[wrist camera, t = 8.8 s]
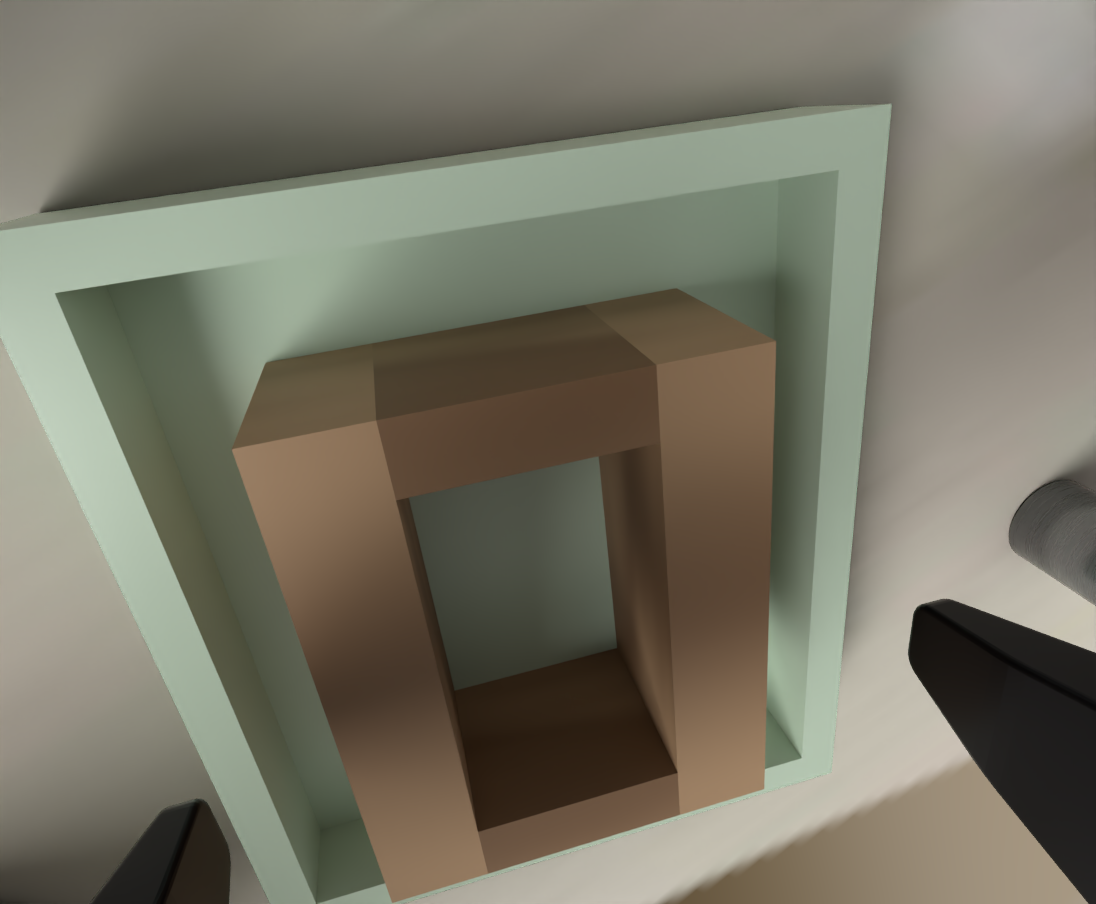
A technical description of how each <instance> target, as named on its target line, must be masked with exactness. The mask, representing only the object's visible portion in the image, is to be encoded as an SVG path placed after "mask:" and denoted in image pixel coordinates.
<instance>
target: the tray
mask: <svg viewBox="0 0 1096 904" xmlns="http://www.w3.org/2000/svg"><path fill="white" fill-rule="evenodd" d="M891 108H892V104H868V105H836V106H803V107H795V108H788V109H781V110H774V111H767V112H759V113H752V114H745V115H738V116H731V117H724V118H717V119H709V120H702V121H695V122H688V123H681V124H674V125H667V126H659V127H652V128H645V129H638V130H631V131H624V132H617V133H609V134H602V135H595V136H588V137H581V138H574V139H567V140H559V141H552V142H545V143H538V144H531V145H524V146H517V147H509V148H502V149H495V150H488V151H481V152H474V153H467V154H459V155H452V156H445V157H438V158H431V159H424V160H417V161H409V162H402V163H395V164H388V165H381V166H374V167H367V168H359V169H352V170H345V171H338V172H331V173H324V174H317V175H309V176H302V177H295V178H288V179H281V180H274V181H267V182H259V183H252V184H245V185H238V186H231V187H224V188H217V189H209V190H202V191H195V192H188V193H181V194H174V195H167V196H159V197H152V198H145V199H138V200H131V201H124V202H117V203H109V204H102V205H95V206H88V207H81V208H74V209H67V210H59V211H52V212H45V213H38V214H33V215H29V216H26V217H23V218H19V219H16V220H12V221H9V222H5V223H2V224H0V338H1V340H2V342H3V344H4V346H5V348H6V350H7V352H8V354H9V356H10V359H11V361H12V363H13V365H14V367H15V369H16V371H17V373H18V375H19V377H20V380H21V382H22V384H23V386H24V388H25V390H26V392H27V394H28V396H29V399H30V401H31V403H32V405H33V407H34V409H35V411H36V413H37V415H38V417H39V420H40V422H41V424H42V426H43V428H44V430H45V432H46V434H47V436H48V438H49V441H50V443H51V445H52V447H53V449H54V451H55V453H56V455H57V457H58V459H59V462H60V464H61V466H62V468H63V470H64V472H65V474H66V476H67V478H68V480H69V483H70V485H71V487H72V489H73V491H74V493H75V495H76V497H77V499H78V501H79V504H80V506H81V508H82V510H83V512H84V514H85V516H86V518H87V520H88V522H89V525H90V527H91V529H92V531H93V533H94V535H95V537H96V539H97V541H98V543H99V546H100V548H101V550H102V552H103V554H104V556H105V558H106V560H107V562H108V564H109V567H110V569H111V571H112V573H113V575H114V577H115V579H116V581H117V583H118V586H119V588H120V590H121V592H122V594H123V596H124V598H125V600H126V602H127V604H128V607H129V609H130V611H131V613H132V615H133V617H134V619H135V621H136V623H137V625H138V628H139V630H140V632H141V634H142V636H143V638H144V640H145V642H146V644H147V646H148V649H149V651H150V653H151V655H152V657H153V659H154V661H155V663H156V665H157V667H158V670H159V672H160V674H161V676H162V678H163V680H164V682H165V684H166V686H167V688H168V691H169V693H170V695H171V697H172V699H173V701H174V703H175V705H176V707H177V709H178V712H179V714H180V716H181V718H182V720H183V722H184V724H185V726H186V728H187V730H188V733H189V735H190V737H191V739H192V741H193V743H194V745H195V747H196V749H197V751H198V754H199V756H200V758H201V760H202V762H203V764H204V766H205V768H206V770H207V773H208V775H209V777H210V779H211V781H212V783H213V785H214V787H215V789H216V791H217V794H218V796H219V798H220V800H221V802H222V804H223V806H224V808H225V810H226V812H227V815H228V817H229V819H230V821H231V823H232V825H233V827H234V829H235V831H236V833H237V836H238V838H239V840H240V842H241V844H242V846H243V848H244V850H245V852H246V854H247V857H248V859H249V861H250V863H251V865H252V867H253V869H254V871H255V873H256V875H257V878H258V880H259V882H260V884H261V886H262V888H263V890H264V892H265V894H266V896H267V899H268V901H269V903H270V904H404V903H407V902H410V901H414V900H417V899H420V898H424V897H427V896H430V895H433V894H437V893H440V892H443V891H446V890H450V889H453V888H456V887H459V886H463V885H466V884H469V883H473V882H476V881H479V880H482V879H486V878H489V877H492V876H495V875H499V874H502V873H505V872H508V871H512V870H515V869H518V868H522V867H525V866H528V865H531V864H535V863H538V862H541V861H544V860H548V859H551V858H554V857H558V856H561V855H564V854H567V853H571V852H574V851H577V850H580V849H584V848H587V847H590V846H593V845H597V844H600V843H603V842H607V841H610V840H613V839H616V838H620V837H623V836H626V835H629V834H633V833H636V832H639V831H642V830H646V829H649V828H652V827H656V826H659V825H662V824H665V823H669V822H672V821H675V820H678V819H682V818H685V817H688V816H692V815H695V814H698V813H701V812H705V811H708V810H711V809H714V808H718V807H721V806H724V805H727V804H731V803H734V802H737V801H741V800H744V799H747V798H750V797H754V796H757V795H760V794H763V793H767V792H770V791H773V790H777V789H780V788H783V787H786V786H790V785H793V784H796V783H799V782H803V781H806V780H809V779H812V778H816V777H819V776H822V775H826V774H829V773H831V772H832V761H833V750H834V739H835V728H836V717H837V706H838V695H839V684H840V673H841V662H842V650H843V639H844V628H845V617H846V606H847V595H848V584H849V573H850V562H851V551H852V540H853V529H854V518H855V507H856V495H857V484H858V473H859V462H860V451H861V440H862V429H863V418H864V407H865V396H866V385H867V374H868V363H869V352H870V340H871V329H872V318H873V307H874V296H875V285H876V274H877V263H878V252H879V241H880V230H881V219H882V208H883V197H884V185H885V174H886V163H887V152H888V141H889V130H890V119H891ZM675 288H677V289H679V290H681V291H683V292H685V293H687V294H689V295H691V296H692V297H694V298H696V299H698V300H700V301H702V302H704V303H706V304H707V305H709V306H711V307H713V308H715V309H717V310H719V311H721V312H723V313H724V314H726V315H728V316H730V317H732V318H734V319H736V320H738V321H739V322H741V323H743V324H745V325H747V326H749V327H751V328H753V329H755V330H756V331H758V332H760V333H762V334H764V335H766V336H768V337H770V338H771V339H773V340H775V341H776V369H775V407H774V444H773V481H772V519H771V556H770V593H769V631H768V668H767V705H766V743H765V780H764V789H763V790H760V791H756V792H753V793H750V794H747V795H743V796H740V797H737V798H734V799H730V800H727V801H724V802H720V803H717V804H714V805H711V806H707V807H704V808H701V809H698V810H694V811H691V812H688V813H685V814H681V815H678V816H675V817H672V818H668V819H665V820H662V821H658V822H655V823H652V824H649V825H645V826H642V827H639V828H636V829H632V830H629V831H626V832H623V833H619V834H616V835H613V836H610V837H606V838H603V839H600V840H597V841H593V842H590V843H587V844H583V845H580V846H577V847H574V848H570V849H567V850H564V851H561V852H557V853H554V854H551V855H548V856H544V857H541V858H538V859H535V860H531V861H528V862H525V863H521V864H518V865H515V866H512V867H508V868H505V869H502V870H499V871H495V872H492V873H489V874H486V875H482V876H479V877H476V878H473V879H469V880H466V881H463V882H460V883H456V884H453V885H450V886H446V887H443V888H440V889H437V890H433V891H430V892H427V893H424V894H420V895H417V896H414V897H411V898H407V899H404V900H401V901H398V902H394V903H392V901H391V898H390V896H389V893H388V890H387V887H386V884H385V881H384V879H383V876H382V873H381V870H380V867H379V865H378V862H377V859H376V856H375V853H374V850H373V848H372V845H371V842H370V839H369V836H368V833H367V831H366V828H365V825H364V822H363V819H362V816H361V814H360V811H359V808H358V805H357V802H356V800H355V797H354V794H353V791H352V788H351V785H350V783H349V780H348V777H347V774H346V771H345V768H344V766H343V763H342V760H341V757H340V754H339V751H338V749H337V746H336V743H335V740H334V737H333V735H332V732H331V729H330V726H329V723H328V720H327V718H326V715H325V712H324V709H323V706H322V703H321V701H320V698H319V695H318V692H317V689H316V686H315V684H314V681H313V678H312V675H311V672H310V670H309V667H308V664H307V661H306V658H305V655H304V653H303V650H302V647H301V644H300V641H299V638H298V636H297V633H296V630H295V627H294V624H293V621H292V619H291V616H290V613H289V610H288V607H287V605H286V602H285V599H284V596H283V593H282V590H281V588H280V585H279V582H278V579H277V576H276V573H275V571H274V568H273V565H272V562H271V559H270V556H269V554H268V551H267V548H266V545H265V542H264V540H263V537H262V534H261V531H260V528H259V525H258V523H257V520H256V517H255V514H254V511H253V508H252V506H251V503H250V500H249V497H248V494H247V492H246V489H245V486H244V483H243V480H242V477H241V475H240V472H239V469H238V466H237V463H236V460H235V458H234V455H233V452H232V447H233V444H234V442H235V439H236V437H237V434H238V432H239V429H240V427H241V424H242V421H243V419H244V416H245V414H246V411H247V409H248V406H249V404H250V401H251V398H252V396H253V393H254V391H255V388H256V386H257V383H258V381H259V378H260V375H261V373H262V370H263V368H264V365H265V363H267V362H272V361H278V360H283V359H289V358H294V357H300V356H305V355H311V354H316V353H322V352H327V351H333V350H338V349H344V348H349V347H355V346H360V345H366V344H372V343H377V342H383V341H388V340H394V339H399V338H405V337H410V336H416V335H421V334H427V333H432V332H438V331H443V330H449V329H454V328H460V327H465V326H471V325H476V324H482V323H487V322H493V321H498V320H504V319H509V318H515V317H520V316H526V315H531V314H537V313H542V312H548V311H553V310H559V309H564V308H570V307H575V306H581V305H586V304H592V303H597V302H603V301H608V300H614V299H619V298H625V297H630V296H636V295H642V294H647V293H653V292H658V291H664V290H669V289H675ZM409 501H410V505H411V509H412V513H413V518H414V522H415V526H416V530H417V534H418V539H419V543H420V547H421V551H422V555H423V560H424V564H425V568H426V572H427V577H428V581H429V585H430V589H431V593H432V598H433V602H434V606H435V610H436V614H437V619H438V623H439V627H440V631H441V636H442V640H443V644H444V648H445V652H446V657H447V661H448V665H449V669H450V673H451V678H452V682H453V686H454V690H459V689H463V688H467V687H471V686H474V685H478V684H482V683H486V682H490V681H493V680H497V679H501V678H505V677H509V676H512V675H516V674H520V673H524V672H528V671H531V670H535V669H539V668H543V667H547V666H550V665H554V664H558V663H562V662H566V661H569V660H573V659H577V658H581V657H585V656H588V655H592V654H596V653H600V652H604V651H607V650H611V649H615V648H617V642H616V631H615V621H614V611H613V600H612V590H611V579H610V569H609V559H608V548H607V538H606V528H605V517H604V507H603V497H602V486H601V476H600V465H599V456H598V457H593V458H589V459H584V460H579V461H575V462H570V463H566V464H561V465H556V466H552V467H547V468H543V469H538V470H533V471H529V472H524V473H520V474H515V475H510V476H506V477H501V478H497V479H492V480H487V481H483V482H478V483H474V484H469V485H464V486H460V487H455V488H451V489H446V490H441V491H437V492H432V493H428V494H423V495H418V496H414V497H409Z"/></svg>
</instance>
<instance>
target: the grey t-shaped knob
mask: <svg viewBox="0 0 1096 904" xmlns="http://www.w3.org/2000/svg"><path fill="white" fill-rule="evenodd" d="M1009 542H1010V545H1011V548H1012V549H1013V551H1014V552H1015V553H1017V554H1018V555H1019V556H1021V557H1022V558H1024V559H1025V560H1027V561H1029V562H1030V563H1032V564H1033V565H1035V566H1036V567H1038V568H1039V569H1041V570H1042V571H1044V572H1045V573H1047V574H1048V575H1050V576H1051V577H1053V578H1054V579H1056V580H1057V581H1059V582H1060V583H1062V584H1063V585H1065V586H1066V587H1068V588H1069V589H1071V590H1072V591H1074V592H1075V593H1077V594H1078V595H1080V596H1081V597H1083V598H1084V599H1086V600H1088V601H1089V602H1091V603H1092V604H1094V605H1095V606H1096V492H1094V491H1092V490H1090V489H1088V488H1086V487H1084V486H1083V485H1081V484H1079V483H1077V482H1074V481H1071V480H1061V481H1056V482H1053V483H1050V484H1048V485H1046V486H1044V487H1042V488H1040V489H1039V490H1037V491H1036V492H1035V493H1034V494H1032V495H1031V496H1030V497H1029V498H1028V499H1027V500H1026V501H1025V502H1024V503H1023V504H1022V506H1021V507H1020V508H1019V510H1018V511H1017V513H1016V515H1015V517H1014V519H1013V521H1012V523H1011V527H1010V531H1009Z"/></svg>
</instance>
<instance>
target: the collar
mask: <svg viewBox="0 0 1096 904" xmlns="http://www.w3.org/2000/svg"><path fill="white" fill-rule="evenodd" d="M775 369H776V341H775V340H773V339H771V338H770V337H768V336H766V335H764V334H762V333H760V332H758V331H756V330H755V329H753V328H751V327H749V326H747V325H745V324H743V323H741V322H739V321H738V320H736V319H734V318H732V317H730V316H728V315H726V314H724V313H723V312H721V311H719V310H717V309H715V308H713V307H711V306H709V305H707V304H706V303H704V302H702V301H700V300H698V299H696V298H694V297H692V296H691V295H689V294H687V293H685V292H683V291H681V290H679V289H677V288H675V289H669V290H664V291H658V292H653V293H647V294H642V295H636V296H630V297H625V298H619V299H614V300H608V301H603V302H597V303H592V304H586V305H581V306H575V307H570V308H564V309H559V310H553V311H548V312H542V313H537V314H531V315H526V316H520V317H515V318H509V319H504V320H498V321H493V322H487V323H482V324H476V325H471V326H465V327H460V328H454V329H449V330H443V331H438V332H432V333H427V334H421V335H416V336H410V337H405V338H399V339H394V340H388V341H383V342H377V343H372V344H366V345H360V346H355V347H349V348H344V349H338V350H333V351H327V352H322V353H316V354H311V355H305V356H300V357H294V358H289V359H283V360H278V361H272V362H267V363H265V365H264V368H263V370H262V373H261V375H260V378H259V381H258V383H257V386H256V388H255V391H254V393H253V396H252V398H251V401H250V404H249V406H248V409H247V411H246V414H245V416H244V419H243V421H242V424H241V427H240V429H239V432H238V434H237V437H236V439H235V442H234V444H233V447H232V452H233V455H234V458H235V460H236V463H237V466H238V469H239V472H240V475H241V477H242V480H243V483H244V486H245V489H246V492H247V494H248V497H249V500H250V503H251V506H252V508H253V511H254V514H255V517H256V520H257V523H258V525H259V528H260V531H261V534H262V537H263V540H264V542H265V545H266V548H267V551H268V554H269V556H270V559H271V562H272V565H273V568H274V571H275V573H276V576H277V579H278V582H279V585H280V588H281V590H282V593H283V596H284V599H285V602H286V605H287V607H288V610H289V613H290V616H291V619H292V621H293V624H294V627H295V630H296V633H297V636H298V638H299V641H300V644H301V647H302V650H303V653H304V655H305V658H306V661H307V664H308V667H309V670H310V672H311V675H312V678H313V681H314V684H315V686H316V689H317V692H318V695H319V698H320V701H321V703H322V706H323V709H324V712H325V715H326V718H327V720H328V723H329V726H330V729H331V732H332V735H333V737H334V740H335V743H336V746H337V749H338V751H339V754H340V757H341V760H342V763H343V766H344V768H345V771H346V774H347V777H348V780H349V783H350V785H351V788H352V791H353V794H354V797H355V800H356V802H357V805H358V808H359V811H360V814H361V816H362V819H363V822H364V825H365V828H366V831H367V833H368V836H369V839H370V842H371V845H372V848H373V850H374V853H375V856H376V859H377V862H378V865H379V867H380V870H381V873H382V876H383V879H384V881H385V884H386V887H387V890H388V893H389V896H390V898H391V901H392V903H394V902H398V901H401V900H404V899H407V898H411V897H414V896H417V895H420V894H424V893H427V892H430V891H433V890H437V889H440V888H443V887H446V886H450V885H453V884H456V883H460V882H463V881H466V880H469V879H473V878H476V877H479V876H482V875H486V874H489V873H492V872H495V871H499V870H502V869H505V868H508V867H512V866H515V865H518V864H521V863H525V862H528V861H531V860H535V859H538V858H541V857H544V856H548V855H551V854H554V853H557V852H561V851H564V850H567V849H570V848H574V847H577V846H580V845H583V844H587V843H590V842H593V841H597V840H600V839H603V838H606V837H610V836H613V835H616V834H619V833H623V832H626V831H629V830H632V829H636V828H639V827H642V826H645V825H649V824H652V823H655V822H658V821H662V820H665V819H668V818H672V817H675V816H678V815H681V814H685V813H688V812H691V811H694V810H698V809H701V808H704V807H707V806H711V805H714V804H717V803H720V802H724V801H727V800H730V799H734V798H737V797H740V796H743V795H747V794H750V793H753V792H756V791H760V790H763V789H764V780H765V743H766V705H767V668H768V631H769V593H770V556H771V519H772V481H773V444H774V407H775ZM598 456H599V465H600V476H601V486H602V497H603V507H604V517H605V528H606V538H607V548H608V559H609V569H610V579H611V590H612V600H613V611H614V621H615V631H616V642H617V648H615V649H611V650H607V651H604V652H600V653H596V654H592V655H588V656H585V657H581V658H577V659H573V660H569V661H566V662H562V663H558V664H554V665H550V666H547V667H543V668H539V669H535V670H531V671H528V672H524V673H520V674H516V675H512V676H509V677H505V678H501V679H497V680H493V681H490V682H486V683H482V684H478V685H474V686H471V687H467V688H463V689H459V690H454V686H453V682H452V678H451V673H450V669H449V665H448V661H447V657H446V652H445V648H444V644H443V640H442V636H441V631H440V627H439V623H438V619H437V614H436V610H435V606H434V602H433V598H432V593H431V589H430V585H429V581H428V577H427V572H426V568H425V564H424V560H423V555H422V551H421V547H420V543H419V539H418V534H417V530H416V526H415V522H414V518H413V513H412V509H411V505H410V501H409V497H414V496H418V495H423V494H428V493H432V492H437V491H441V490H446V489H451V488H455V487H460V486H464V485H469V484H474V483H478V482H483V481H487V480H492V479H497V478H501V477H506V476H510V475H515V474H520V473H524V472H529V471H533V470H538V469H543V468H547V467H552V466H556V465H561V464H566V463H570V462H575V461H579V460H584V459H589V458H593V457H598Z"/></svg>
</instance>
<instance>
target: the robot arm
mask: <svg viewBox="0 0 1096 904" xmlns="http://www.w3.org/2000/svg"><path fill="white" fill-rule="evenodd" d="M908 656H909V661H910V664H911V666H912V669H913V670H914V672H915V674H916V675H917V677H918V678H919V680H920V681H921V683H922V684H923V686H924V687H925V689H926V690H927V692H928V693H929V695H930V696H931V698H932V699H933V701H934V702H935V704H936V705H937V707H938V708H939V709H940V711H941V712H942V714H943V715H944V717H945V718H946V720H947V721H948V723H949V724H950V726H951V727H952V729H953V730H954V732H955V733H956V735H957V736H958V738H959V739H960V741H961V742H962V744H963V745H964V747H965V748H966V750H967V751H968V753H969V754H970V756H971V757H972V758H973V760H974V761H975V763H976V764H977V765H978V767H979V768H980V769H981V771H982V772H983V774H984V775H985V776H986V777H987V779H988V780H989V781H990V783H991V784H992V785H993V787H994V788H995V789H996V791H997V792H998V793H999V794H1000V795H1001V796H1002V798H1003V799H1004V800H1005V802H1006V803H1007V804H1008V805H1009V806H1010V807H1011V809H1012V810H1013V811H1014V813H1015V814H1016V815H1017V816H1018V817H1019V819H1020V820H1021V821H1022V822H1023V824H1024V825H1025V826H1026V827H1027V829H1028V830H1029V831H1030V832H1031V834H1032V835H1033V836H1034V837H1035V838H1036V840H1037V841H1038V842H1039V843H1040V844H1041V846H1042V847H1043V848H1044V849H1045V851H1046V852H1047V853H1048V854H1049V856H1050V857H1051V858H1052V859H1053V861H1054V862H1055V863H1056V864H1057V866H1058V867H1059V868H1060V869H1061V870H1062V872H1063V873H1064V874H1065V875H1066V876H1067V878H1068V879H1069V880H1070V881H1071V883H1072V884H1073V885H1074V886H1075V888H1076V889H1077V890H1078V891H1079V893H1080V894H1081V895H1082V896H1083V897H1084V899H1085V900H1086V901H1087V902H1088V904H1096V653H1095V652H1092V651H1089V650H1087V649H1084V648H1081V647H1078V646H1076V645H1073V644H1070V643H1068V642H1065V641H1062V640H1059V639H1057V638H1054V637H1051V636H1049V635H1046V634H1043V633H1041V632H1038V631H1035V630H1032V629H1030V628H1027V627H1024V626H1022V625H1019V624H1016V623H1013V622H1011V621H1008V620H1005V619H1003V618H1000V617H997V616H995V615H992V614H989V613H986V612H984V611H981V610H978V609H976V608H973V607H970V606H968V605H965V604H962V603H959V602H957V601H954V600H951V599H940V600H936V601H933V602H929V603H925V604H921V605H919V606H918V607H917V608H916V610H915V611H914V614H913V621H912V627H911V634H910V641H909V648H908ZM230 867H231V862H230V852H229V848H228V844H227V842H226V840H225V838H224V836H223V833H222V831H221V829H220V827H219V825H218V823H217V821H216V819H215V817H214V815H213V813H212V811H211V809H210V807H209V805H208V804H207V802H205V801H204V800H202V799H195V800H191V801H187V802H183V803H180V804H176V805H172V806H169V807H167V808H165V809H164V810H162V811H161V812H160V813H159V814H158V815H157V817H156V818H155V819H154V821H153V822H152V823H151V824H150V826H149V827H148V828H147V830H146V831H145V832H144V834H143V835H142V836H141V837H140V839H139V840H138V841H137V843H136V844H135V845H134V847H133V848H132V849H131V850H130V852H129V853H128V854H127V856H126V857H125V858H124V860H123V861H122V862H121V863H120V865H119V866H118V867H117V869H116V870H115V871H114V873H113V874H112V875H111V876H110V878H109V879H108V880H107V882H106V883H105V884H104V886H103V887H102V888H101V890H100V891H99V892H98V893H97V895H96V896H95V897H94V899H93V900H92V901H91V903H90V904H229V891H230Z"/></svg>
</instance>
